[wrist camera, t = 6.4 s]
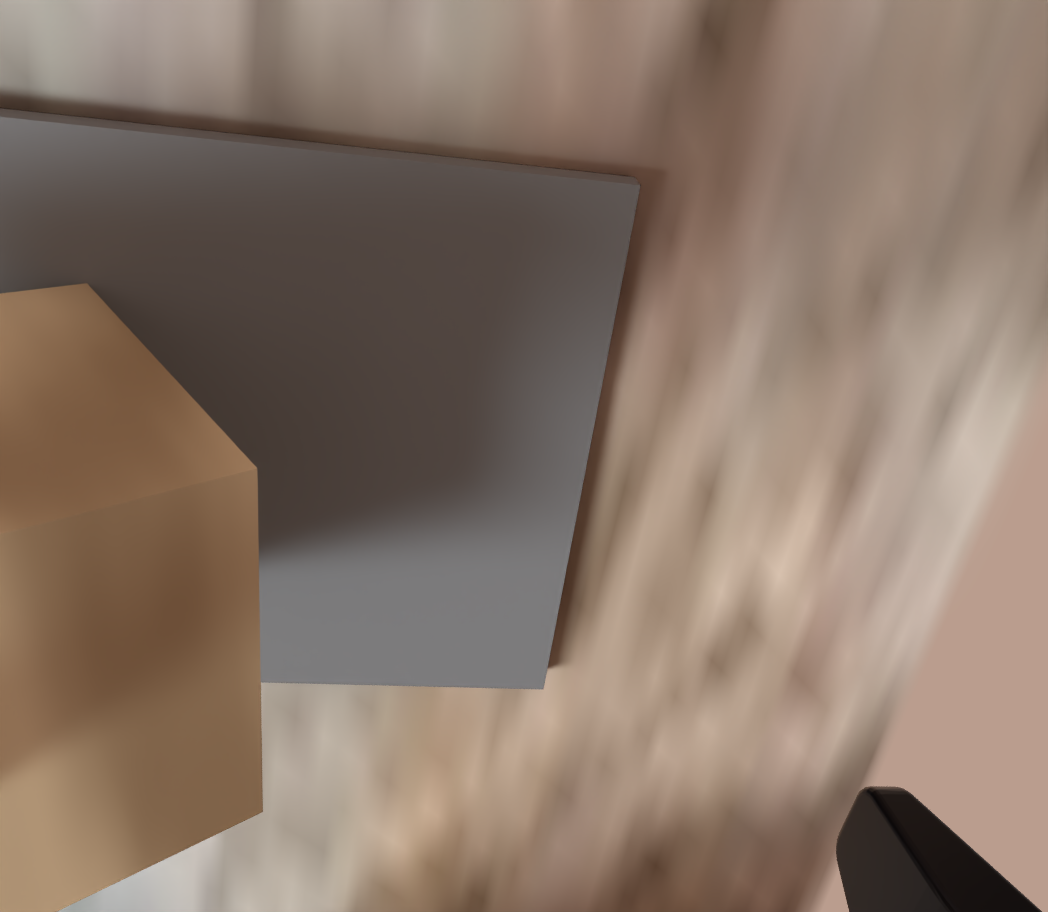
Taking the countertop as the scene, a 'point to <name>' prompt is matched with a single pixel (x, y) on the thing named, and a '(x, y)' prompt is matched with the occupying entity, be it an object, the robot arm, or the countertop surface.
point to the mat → (356, 367)
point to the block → (117, 608)
